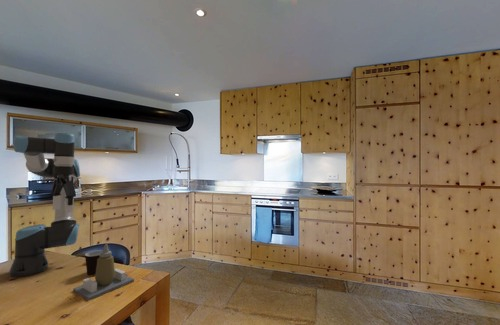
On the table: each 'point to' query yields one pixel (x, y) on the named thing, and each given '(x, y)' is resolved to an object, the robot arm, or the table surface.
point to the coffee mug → (92, 261)
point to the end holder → (93, 290)
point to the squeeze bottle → (105, 268)
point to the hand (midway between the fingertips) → (62, 210)
